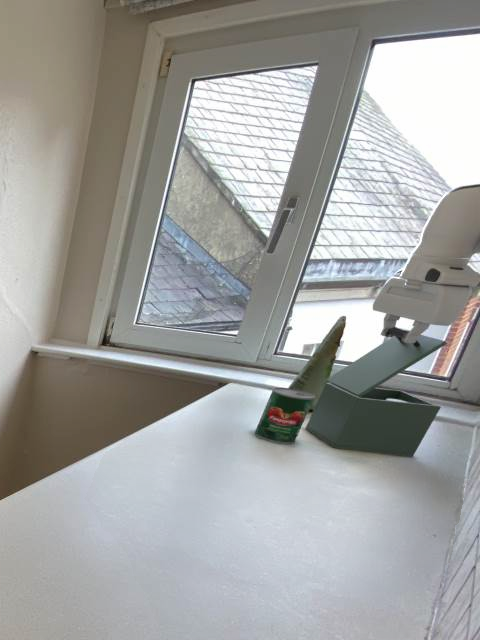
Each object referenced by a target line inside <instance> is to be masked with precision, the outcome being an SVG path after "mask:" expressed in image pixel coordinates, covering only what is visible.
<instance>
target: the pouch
mask: <svg viewBox="0 0 480 640" xmlns="http://www.w3.org/2000/svg"><path fill="white" fill-rule="evenodd" d="M346 321H347V315H341V316H339V318H338V319H337V320H336V322H334V324H333V326H332V327H331V328H330V329H329V331H328V332H327V333H326V335H325V336H324V337H323V339H322V340H321V343H320V344H319V346H318V347H317V348H316V350H315V351H314V353H313V354H312V355H311V357H310V358H309V359H308V361H307V362H306V364H305V365H304V366H303V367H302V369H301V370H300V372H299V373H298V374H297V376H296V377H295V378H294V379H293V381H292V382H291V383H290V385H289V386H288V387H287V388H289V389H295V390H300V391H304V392H308V393H310V394H313V395H314V396H315V399H314V401H313V403H312V405H311V407H310V409H309V411H314V408H315V406H316V404H317V402H318V400H319V397H320V395H321V393H322V391H323V389H324V387H325V384H326V383H329V382H328V381H327V379H328V378H330V377H331V374H332V371H333V366H334V364H335V361H336V360H337V352H338V349H339V348H340V347H341V341H342V338H343V336H344V333H345V332H344V331H345V328H346V324H347V322H346Z"/></svg>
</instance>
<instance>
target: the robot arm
mask: <svg viewBox="0 0 480 640" xmlns="http://www.w3.org/2000/svg"><path fill="white" fill-rule="evenodd" d="M475 254H478V255H480V183H477V184H468V185H461V186H456V187H454V188H452V189H450V190H449V191H447V192H445V194H443V196H442V197H441V198H440V199H439V201H438V202H437V204H436V205H435V207H434V208H433V210H432V211H431V214H430V215H429V217H428V219H427V221H426V223H425V225H424V227H423V228H422V230H421V234H420V238H419V242H418V243H417V245H416V246H415V248H414V249H413V250H412V251H411V253H410V255H409V257H408V259H407V261H406V263H405V265H404V267H403V268H400V269H399V270H398V271H397V272H395V273H393V274H392V275H391V277H390V278H388V279H387V280H386V281H385V283H384V284H383V286H382V287H381V288H380V290H379V292H378V294H377V295H376V297H375V299H374V301H373V303H372V311H375V312H379V313H383V314H385V315H384V317H383V328H382V330H381V332H380V336H382V337H385V338H392V337H393V335H390V334H389V330H390V329H391V328H392V327H397V326H396V325H397V321H399V320H400V319H401V318H404V319H406V320H412V321H413V323H412V325H411V326H412V328H410V329H409V330H410V331H409V332H408V334H407V333H405V334H404V336H403V338H402V340H401V341H402V342H405V343H410V344H414V343H415V342H416V340H417V339H418V337H419V335H423V333H424V332H426V331H427V330H428V329H429V327H430V326H431V325H433V326H441V327H443V326H444V327H450V326H451V325H452V324H454V323H455V322H457V320H458V319H459V318H460V316H461V315H462V313H463V311H464V310H465V308H466V306H467V304H468V302H469V300H470V299H471V296H472V291H473V290H472V288H475V287H477V286H478V285H479V284H480V273H479V272H477V271H476V270H475V269H473V268H472V267H471V266H470V265H468V264H469V263H470V260H471V259H472V257H473V256H474V255H475Z"/></svg>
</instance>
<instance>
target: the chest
mask: <svg viewBox="0 0 480 640" xmlns="http://www.w3.org/2000/svg"><path fill="white" fill-rule="evenodd" d="M386 399H397V400H402V401H406V402H398V401H388V400H386ZM407 402H408V403H407ZM441 408H442V406H440V405H439V404H436V403H433V402H431V401H428V400H426V399H424V398H422V397H419V396H416V395H414V394H411V393H409V392H406V391H404V390H402V389H394V388H393V389H391V388H382V387H376V388H374V389H373V390H371V391H369V392H368V393H366V394H365V395H363V396H361V397H358V396H356V395H354V394H352V393H350V392H348V391H346V390H344V389H342V388H340V387H337V386H335V385H333V384H331V383H326V384H325V387H324V389H323V391H322V393H321V395H320V397H319V400H318V402H317V404H316V406H315V408H314V410H312V412H311V415H310V417H309V419H308V422H307V424H306V426H305V428H304V429H305V430H306V431H307V432H309V433H310V434H312V435H314V436H315V437H317V438H318V439H320V440H321V441H323V442H325V443H326V444H328V445H329V446H330V447H331V448H334V449H343V450H351V451H358V452H359V451H361V452H368V453H377V454H385V455H393V456H401V457H409V458H410V457H411V458H412V457H413V458H414V456H415V454H416V452H417V450H418V448H419V447H420V444H421V443H422V441H423V439H424V438H425V436H426V435H427V433H428V431H429V430H430V427H431V425H432V424H433V422H434V420H435V418H436V417H437V415H438V414H439V412H440V410H441Z"/></svg>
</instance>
